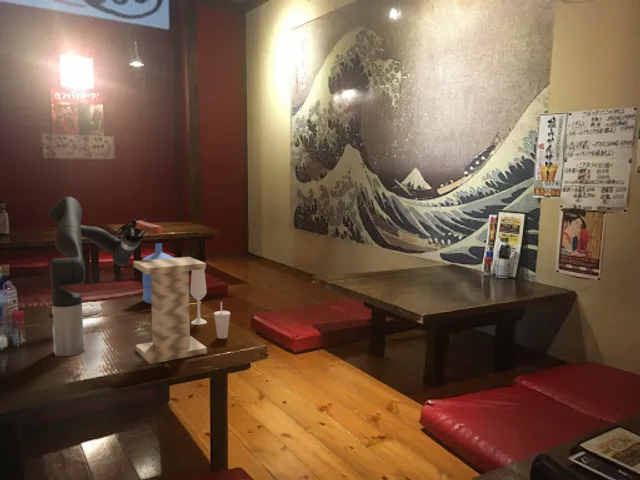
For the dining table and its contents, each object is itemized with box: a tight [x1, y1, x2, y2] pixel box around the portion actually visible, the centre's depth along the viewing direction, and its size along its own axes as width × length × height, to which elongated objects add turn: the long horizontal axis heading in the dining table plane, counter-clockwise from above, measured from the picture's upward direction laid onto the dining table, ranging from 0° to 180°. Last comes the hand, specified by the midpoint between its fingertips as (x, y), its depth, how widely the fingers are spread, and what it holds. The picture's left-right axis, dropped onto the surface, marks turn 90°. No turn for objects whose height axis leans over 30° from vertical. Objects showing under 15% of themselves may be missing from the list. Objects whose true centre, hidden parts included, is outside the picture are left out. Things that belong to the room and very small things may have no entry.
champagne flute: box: [189, 269, 208, 325], centre depth 222 cm, size 7×7×24 cm
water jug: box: [142, 243, 175, 305], centre depth 259 cm, size 16×16×28 cm
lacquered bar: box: [135, 220, 163, 235], centre depth 203 cm, size 4×26×2 cm, turn 34°
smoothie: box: [213, 301, 231, 340], centre depth 203 cm, size 6×6×14 cm
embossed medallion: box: [52, 301, 102, 317], centre depth 237 cm, size 20×20×3 cm
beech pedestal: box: [133, 256, 208, 365], centre depth 185 cm, size 20×16×32 cm
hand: (140, 221), depth 209 cm, fingers closed on lacquered bar, 3 cm apart
